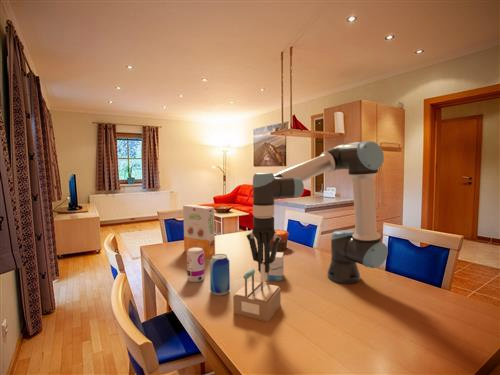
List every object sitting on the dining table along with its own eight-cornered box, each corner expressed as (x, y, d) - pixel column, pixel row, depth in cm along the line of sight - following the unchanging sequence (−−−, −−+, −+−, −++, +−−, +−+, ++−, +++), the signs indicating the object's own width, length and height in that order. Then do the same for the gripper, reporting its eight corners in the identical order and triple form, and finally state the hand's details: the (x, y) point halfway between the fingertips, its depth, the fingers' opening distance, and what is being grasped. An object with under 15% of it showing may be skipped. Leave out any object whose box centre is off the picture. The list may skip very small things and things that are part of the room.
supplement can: (207, 277, 139) (207, 247, 138) (197, 284, 132) (197, 252, 131) (194, 275, 143) (193, 246, 142) (183, 281, 135) (183, 250, 134)
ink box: (282, 281, 134) (282, 257, 133) (264, 280, 136) (264, 256, 135) (283, 274, 142) (283, 252, 142) (267, 273, 144) (267, 251, 143)
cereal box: (215, 255, 174) (214, 207, 172) (207, 258, 169) (206, 208, 167) (192, 248, 188) (190, 204, 186) (184, 251, 184) (183, 205, 181)
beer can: (214, 298, 118) (213, 260, 117) (207, 290, 125) (207, 255, 124) (232, 293, 122) (232, 257, 120) (225, 286, 129) (224, 252, 128)
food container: (290, 251, 181) (290, 234, 180) (265, 251, 181) (265, 234, 181) (287, 244, 197) (287, 229, 196) (264, 244, 197) (264, 229, 196)
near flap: (279, 286, 111) (279, 265, 111) (266, 301, 99) (266, 278, 98) (266, 284, 114) (266, 263, 113) (252, 298, 101) (252, 275, 101)
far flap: (262, 284, 114) (262, 263, 113) (247, 298, 101) (247, 275, 101) (249, 281, 116) (249, 261, 116) (233, 295, 104) (233, 273, 103)
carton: (280, 305, 111) (280, 288, 110) (268, 322, 99) (268, 302, 99) (248, 298, 117) (248, 282, 116) (233, 313, 105) (233, 295, 105)
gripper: (284, 215, 101) (284, 279, 103) (251, 213, 107) (252, 274, 108) (277, 219, 94) (277, 287, 96) (242, 216, 100) (243, 281, 102)
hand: (264, 280), depth 102 cm, fingers closed
